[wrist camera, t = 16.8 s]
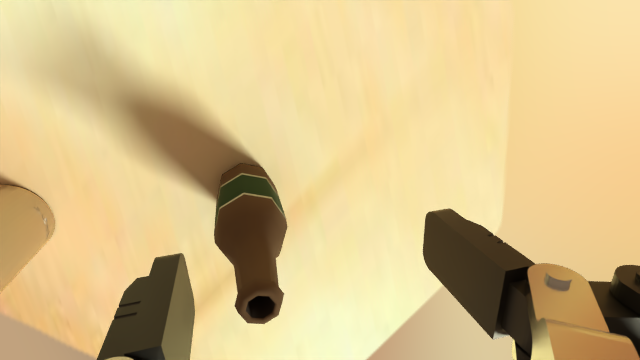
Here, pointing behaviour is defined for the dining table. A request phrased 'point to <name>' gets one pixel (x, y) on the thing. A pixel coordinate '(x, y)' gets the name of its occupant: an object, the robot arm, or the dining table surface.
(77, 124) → the dining table surface
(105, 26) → the dining table surface
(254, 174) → the beer bottle
